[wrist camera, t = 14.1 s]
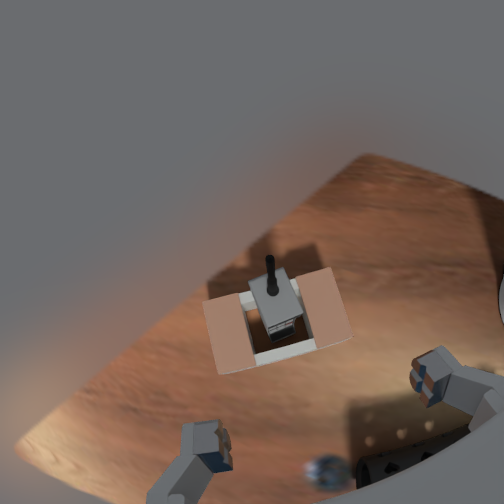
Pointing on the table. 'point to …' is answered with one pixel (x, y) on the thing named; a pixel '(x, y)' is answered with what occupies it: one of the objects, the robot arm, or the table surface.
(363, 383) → the table surface
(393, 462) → the muzzle brake
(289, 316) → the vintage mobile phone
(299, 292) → the tan rectangular frame
